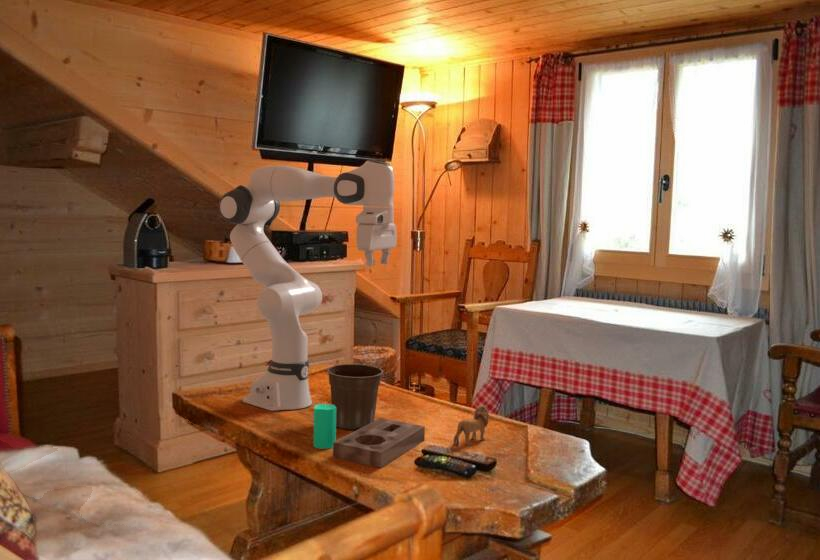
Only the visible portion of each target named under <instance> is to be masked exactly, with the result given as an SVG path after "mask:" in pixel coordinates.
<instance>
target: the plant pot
mask: <svg viewBox="0 0 820 560" xmlns="http://www.w3.org/2000/svg"><path fill="white" fill-rule="evenodd" d="M326 372H327V374H328V383H329V386H330V399H331V400H330V401H331V402H330V403H331V405H335V406H336V428H339V429H342V430H350V431H351V430H353V431H354V430H355V431H356V430H357V429H360V428H362V427H364V426H366V425H368V424H370V423H372V422H374V421H375V417H376V416H375V415H376V410H377V409H376V408H377V402H378V401H377V400H378V394H379V387H380V386H381V380H382V376H383V374H384V370H383V369H382V368H380V367H378V366H375V365H374V366H373V365H370V364H363V363H345V364H336V365H332V366H329V367H328V368H327V371H326Z"/></svg>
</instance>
